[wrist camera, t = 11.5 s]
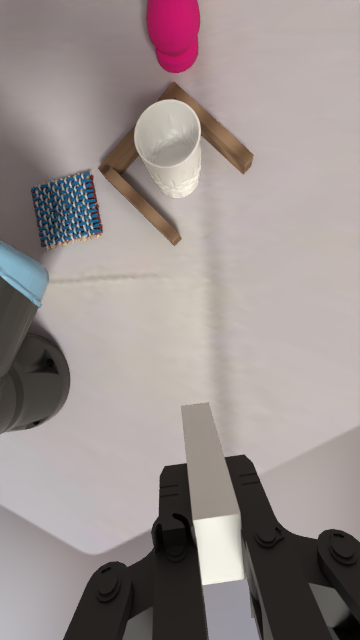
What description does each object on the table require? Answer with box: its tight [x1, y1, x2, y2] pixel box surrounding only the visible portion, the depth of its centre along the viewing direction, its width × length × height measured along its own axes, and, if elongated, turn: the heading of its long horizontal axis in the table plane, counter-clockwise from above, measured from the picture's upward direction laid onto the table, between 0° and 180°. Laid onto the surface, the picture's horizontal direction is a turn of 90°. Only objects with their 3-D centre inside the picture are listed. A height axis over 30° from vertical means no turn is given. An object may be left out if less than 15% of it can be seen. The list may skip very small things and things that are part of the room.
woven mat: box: [31, 173, 103, 250], centre depth 44 cm, size 10×11×2 cm
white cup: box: [134, 99, 201, 198], centre depth 37 cm, size 8×8×10 cm
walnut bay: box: [98, 82, 253, 246], centre depth 40 cm, size 16×16×3 cm
